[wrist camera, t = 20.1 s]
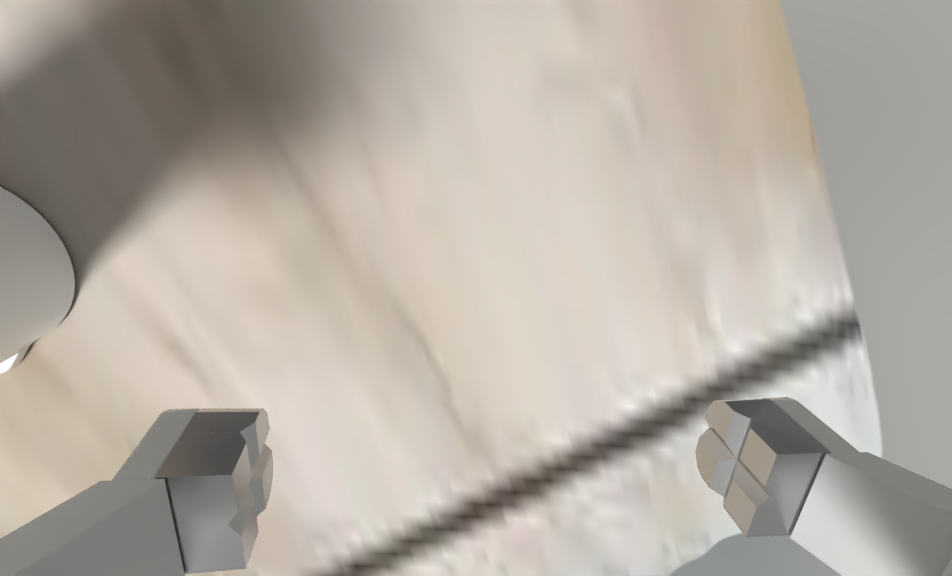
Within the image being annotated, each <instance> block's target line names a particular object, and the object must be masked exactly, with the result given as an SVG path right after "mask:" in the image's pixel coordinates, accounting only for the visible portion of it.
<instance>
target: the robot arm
mask: <svg viewBox="0 0 952 576" xmlns="http://www.w3.org/2000/svg"><path fill="white" fill-rule="evenodd" d="M74 291H75V278H74V271H73V266H72V263H71V260H70V257H69V255H68V252H67V250H66V248H65V246H64V245H63V243H62V241H61V239H60V238H59V236H58V235H57V234H56V232H55V231H54V229H53V228H52V227H51V226H50V225H49V223H48V222H47V221H46V220H45V219H44V218H43V217H42V216H41V215H40V214H39V213H38V212H37V211H36V210H34V209H33V208H32V207H31V206H30V205H28V204H27V203H26V202H24V201H23V200H21V199H20V198H19V197H17V196H16V195H14V194H12V193H11V192H9V191H7V190H5V189H3V188H2V187H0V373H4V372H7V371H9V370H10V369H12V368H14V367H16V366H17V365H18V364H19V363H20V362H21V361H22V359H23V358H24V356H25V354H26V352H27V350H28V348H29V346H30V345H31V344H32V343H33V342H34V341H36V340H37V339H39V338H41V337H42V336H44V335H46V334H47V333H49V332H50V331H52V330H53V329H54V328H55V327H56V326H58V324H59V323H60V322H61V321H62V320H63V319H64V318H65V316H66V314H67V313H68V311H69V309H70V307H71V304H72V301H73V297H74ZM705 420H706V422H707V424H708V426H709V429H707V430H706V431H705V432H704V433H703V434H702V435H701V436H700V437H699V440H698V444H697V448H696V459H697V467H698V469H699V471H700V474H701V476H702V478H703V479H704V481H705V482H706V484H707V485H708V486H709V488H711V489H712V490H714V491H716V492H717V493H719V494H720V495H722V496H724V504H723V507H724V508H725V510H726V511H727V512H728V514H729V515H730V516H731V518H732V519H733V520H734V522H735V523H736V524H737V526H738V527H739V528H740V530H741V531H742V532H743V534H744V535H745V536H746V537H753V536H786V535H791V537H790V538H791V539H793V540H794V541H795V542H797V543H798V544H799V545H801V546H802V547H804V548H805V549H806V550H808V551H809V552H810V553H812V554H813V555H815V556H816V557H817V558H819V559H820V560H821V561H823V562H824V563H825V564H827V565H829V566H830V567H831V568H833V569H834V570H835V571H837V572H838V573H839V574H841V575H842V576H952V489H951V488H948V487H946V486H944V485H941V484H939V483H937V482H934V481H932V480H930V479H927V478H925V477H923V476H920V475H918V474H916V473H914V472H912V471H909V470H907V469H905V468H902V467H900V466H898V465H895V464H893V463H891V462H888V461H886V460H884V459H882V458H879V457H877V456H875V455H873V454H870V453H868V452H859V451H857V450H856V449H855V448H854V447H853V446H851V445H850V444H849V443H848V442H847V441H845V440H844V439H843V438H842V437H840V436H839V435H838V434H837V433H836V432H834V431H833V430H832V429H831V428H829V427H828V426H827V425H826V424H825V423H823V422H822V421H821V420H820V419H819V418H817V417H816V416H815V415H814V414H812V413H811V412H810V411H809V410H808V409H806V408H805V407H804V406H803V405H801V404H800V403H799V402H798V401H796V400H794V399H791V398H788V397H782V398H763V399H755V400H719V401H713V403H712V404H711V405H710V406H709V407H708V410H707V414H706V417H705ZM268 432H269V422H268V415H267V412H266V411H265V410H264V409H169V410H166V411H164V412H162V413H161V414H160V415H159V417H158V418H157V420H156V421H155V422H154V424H153V425H152V426H151V428H150V429H149V430H148V432H147V433H146V435H145V436H144V437H143V439H142V440H141V441H140V443H139V444H138V445H137V447H136V448H135V450H134V451H133V452H132V454H131V455H130V456H129V458H128V459H127V461H126V462H125V463H124V465H123V466H122V467H121V469H120V470H119V471H118V473H117V474H116V476H115V477H114V478H113V480H112V481H100V482H98V483H97V484H95V485H93V486H91V487H90V488H88V489H86V490H84V491H83V492H81V493H79V494H77V495H76V496H74V497H72V498H70V499H69V500H67V501H65V502H64V503H62V504H60V505H58V506H57V507H55V508H53V509H51V510H50V511H48V512H46V513H44V514H43V515H41V516H39V517H37V518H36V519H34V520H32V521H30V522H29V523H27V524H25V525H24V526H22V527H20V528H18V529H17V530H15V531H13V532H11V533H10V534H8V535H6V536H4V537H3V538H1V539H0V576H185V574H192V573H203V572H214V571H225V570H235V569H246V567H247V564H248V561H249V558H250V555H251V552H252V549H253V546H254V543H255V540H256V537H257V534H258V525H257V517H256V516H258V515H259V514H260V513H261V512H262V511H263V510H265V509H266V506H267V502H268V499H269V496H270V491H271V484H272V478H273V458H272V450H271V449H270V448H269V447H268V446H267V445H266V444H265V440H266V438H267V435H268Z"/></svg>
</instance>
